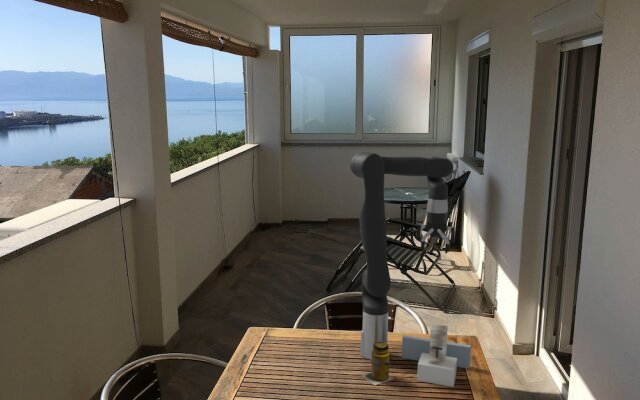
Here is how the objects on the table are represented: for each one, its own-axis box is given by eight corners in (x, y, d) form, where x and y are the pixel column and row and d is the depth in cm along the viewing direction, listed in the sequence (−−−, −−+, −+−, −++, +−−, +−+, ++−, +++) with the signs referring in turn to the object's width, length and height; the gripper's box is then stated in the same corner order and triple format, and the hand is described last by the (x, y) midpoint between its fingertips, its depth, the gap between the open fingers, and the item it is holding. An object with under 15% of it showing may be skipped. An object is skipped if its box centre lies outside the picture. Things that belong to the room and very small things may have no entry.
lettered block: (428, 363, 182) (430, 329, 179) (431, 356, 187) (432, 323, 184) (444, 365, 180) (445, 332, 178) (445, 358, 185) (447, 325, 183)
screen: (401, 357, 198) (402, 337, 197) (402, 355, 200) (403, 335, 199) (469, 368, 191) (470, 347, 189) (469, 366, 192) (471, 345, 191)
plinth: (417, 380, 182) (417, 364, 181) (421, 368, 191) (422, 352, 190) (453, 387, 178) (454, 370, 177) (456, 374, 187) (457, 358, 186)
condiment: (394, 378, 183) (395, 345, 181) (374, 385, 179) (375, 352, 177) (380, 370, 189) (381, 337, 187) (361, 376, 185) (361, 343, 183)
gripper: (416, 210, 203) (414, 252, 206) (455, 213, 198) (453, 256, 201) (419, 207, 210) (417, 247, 213) (457, 209, 205) (454, 251, 208)
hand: (434, 251), depth 207 cm, fingers open, 8 cm apart
